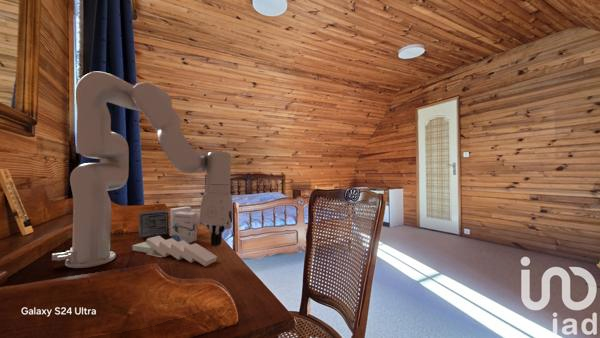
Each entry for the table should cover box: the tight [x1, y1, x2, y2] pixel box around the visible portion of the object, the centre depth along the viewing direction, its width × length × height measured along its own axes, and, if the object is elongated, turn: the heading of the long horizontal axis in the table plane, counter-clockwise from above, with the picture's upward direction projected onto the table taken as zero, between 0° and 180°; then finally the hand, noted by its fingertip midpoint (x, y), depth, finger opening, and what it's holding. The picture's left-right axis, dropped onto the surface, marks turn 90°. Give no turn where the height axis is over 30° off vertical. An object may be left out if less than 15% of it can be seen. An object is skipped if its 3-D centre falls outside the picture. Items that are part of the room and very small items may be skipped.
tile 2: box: [170, 240, 197, 263], centre depth 89 cm, size 2×5×10 cm
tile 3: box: [159, 237, 184, 261], centre depth 91 cm, size 2×5×10 cm
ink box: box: [171, 211, 199, 244], centre depth 108 cm, size 9×5×12 cm, turn 84°
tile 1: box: [183, 242, 218, 267], centre depth 87 cm, size 2×5×10 cm
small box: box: [138, 209, 169, 239], centre depth 114 cm, size 11×6×10 cm, turn 130°
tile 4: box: [145, 236, 172, 258], centre depth 93 cm, size 2×5×10 cm
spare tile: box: [132, 241, 157, 254], centre depth 95 cm, size 2×5×10 cm
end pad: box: [146, 252, 165, 259], centre depth 93 cm, size 7×7×1 cm
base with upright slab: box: [168, 206, 192, 237], centre depth 118 cm, size 9×9×12 cm
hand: (216, 245), depth 85 cm, fingers closed
